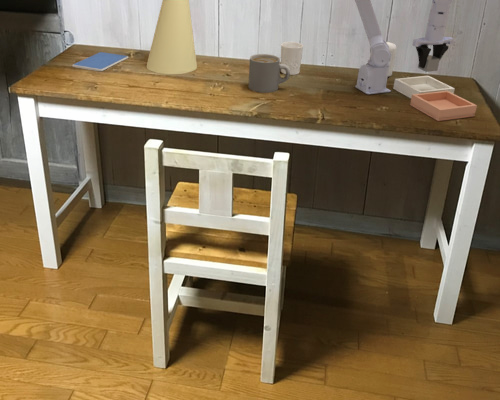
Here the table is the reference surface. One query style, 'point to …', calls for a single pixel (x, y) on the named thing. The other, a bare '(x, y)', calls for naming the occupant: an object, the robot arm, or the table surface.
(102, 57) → the blue notebook
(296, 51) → the white cup
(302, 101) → the table surface
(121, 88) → the table surface
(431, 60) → the gray cube
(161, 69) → the cone light
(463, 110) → the bin
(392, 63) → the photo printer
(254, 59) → the coffee mug
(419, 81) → the tub
